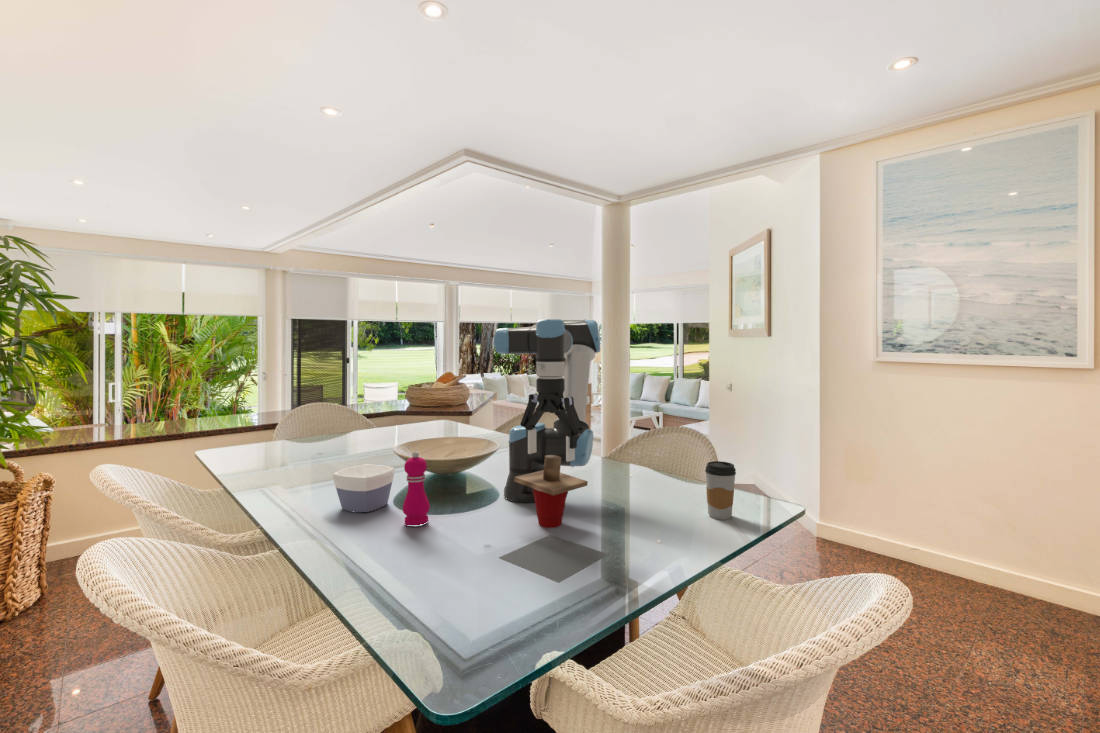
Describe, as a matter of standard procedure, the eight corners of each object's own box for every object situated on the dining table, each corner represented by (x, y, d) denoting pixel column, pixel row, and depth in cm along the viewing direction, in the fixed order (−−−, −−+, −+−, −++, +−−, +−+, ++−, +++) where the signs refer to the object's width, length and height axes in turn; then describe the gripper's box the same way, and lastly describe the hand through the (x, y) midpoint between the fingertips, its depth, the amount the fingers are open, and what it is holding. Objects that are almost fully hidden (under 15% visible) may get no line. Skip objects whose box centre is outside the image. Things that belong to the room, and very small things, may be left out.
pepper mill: (435, 521, 142) (434, 450, 140) (418, 529, 135) (417, 455, 134) (414, 517, 145) (413, 447, 143) (397, 525, 138) (395, 453, 137)
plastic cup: (567, 536, 130) (567, 490, 130) (526, 533, 132) (526, 488, 132) (573, 521, 141) (573, 479, 140) (535, 518, 143) (535, 477, 142)
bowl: (326, 511, 150) (325, 474, 149) (363, 496, 164) (362, 462, 163) (367, 518, 144) (366, 479, 143) (402, 502, 158) (401, 467, 158)
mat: (498, 561, 115) (498, 557, 115) (550, 538, 129) (550, 534, 129) (558, 587, 103) (558, 582, 103) (608, 558, 117) (608, 554, 117)
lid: (513, 481, 135) (516, 454, 135) (548, 473, 146) (550, 448, 145) (553, 495, 126) (555, 467, 126) (587, 485, 137) (589, 459, 136)
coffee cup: (734, 513, 147) (735, 462, 147) (735, 522, 140) (736, 469, 139) (705, 509, 150) (705, 459, 149) (703, 519, 142) (704, 466, 142)
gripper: (507, 376, 140) (508, 452, 141) (578, 380, 123) (578, 466, 125) (526, 374, 145) (526, 447, 147) (597, 379, 129) (596, 461, 130)
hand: (550, 456), depth 136 cm, fingers open, 13 cm apart
